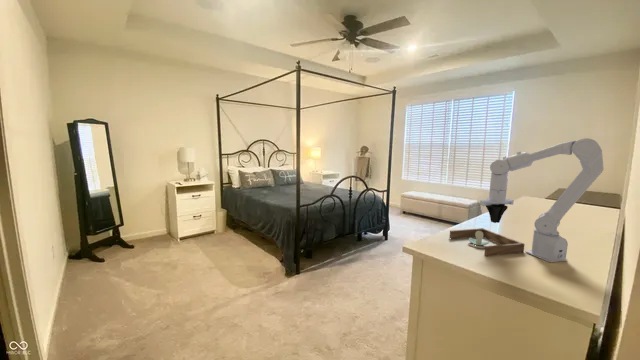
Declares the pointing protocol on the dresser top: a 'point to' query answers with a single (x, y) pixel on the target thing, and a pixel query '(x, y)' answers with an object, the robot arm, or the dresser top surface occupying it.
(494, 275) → the dresser top surface
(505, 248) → the open box
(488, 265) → the dresser top surface
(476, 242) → the pacifier
